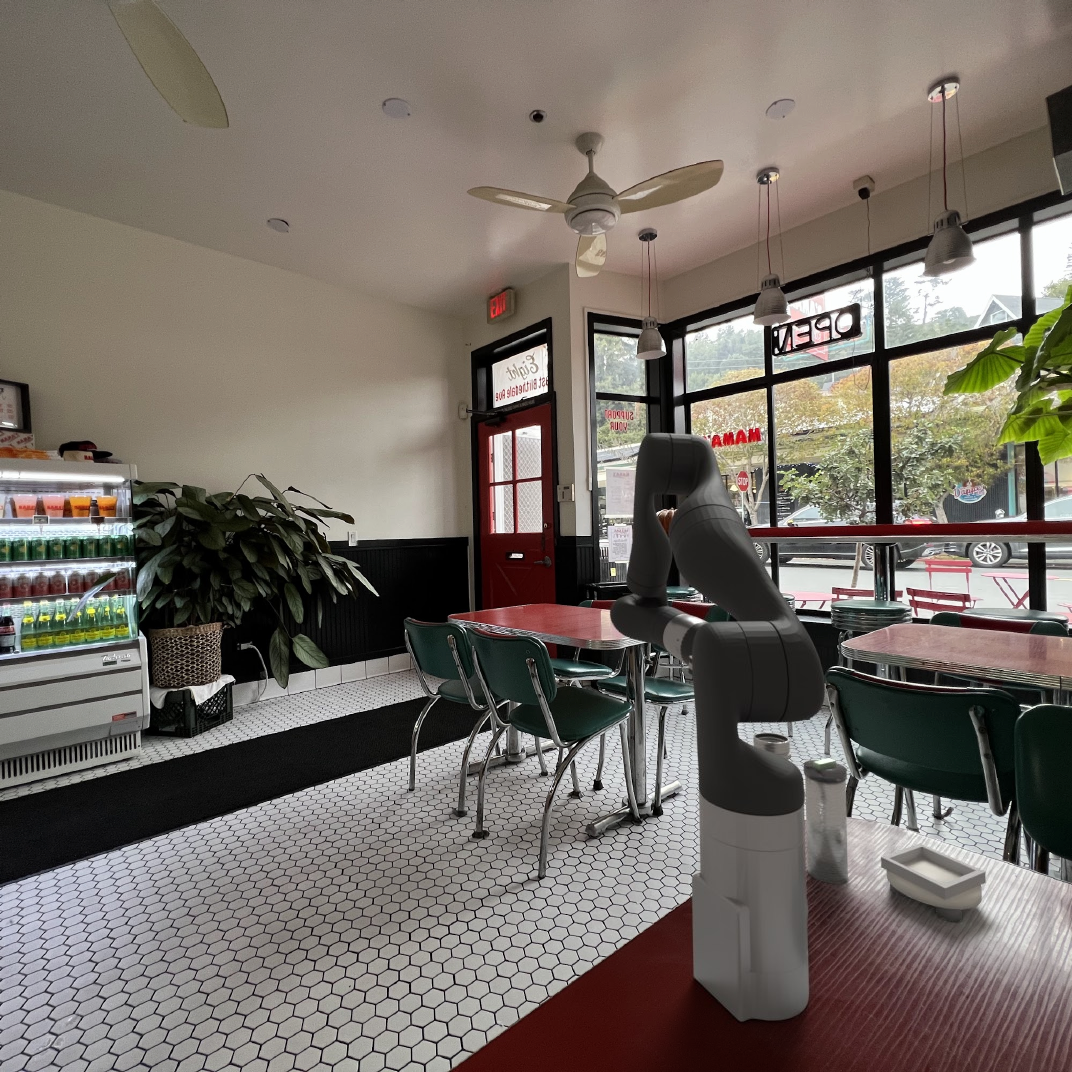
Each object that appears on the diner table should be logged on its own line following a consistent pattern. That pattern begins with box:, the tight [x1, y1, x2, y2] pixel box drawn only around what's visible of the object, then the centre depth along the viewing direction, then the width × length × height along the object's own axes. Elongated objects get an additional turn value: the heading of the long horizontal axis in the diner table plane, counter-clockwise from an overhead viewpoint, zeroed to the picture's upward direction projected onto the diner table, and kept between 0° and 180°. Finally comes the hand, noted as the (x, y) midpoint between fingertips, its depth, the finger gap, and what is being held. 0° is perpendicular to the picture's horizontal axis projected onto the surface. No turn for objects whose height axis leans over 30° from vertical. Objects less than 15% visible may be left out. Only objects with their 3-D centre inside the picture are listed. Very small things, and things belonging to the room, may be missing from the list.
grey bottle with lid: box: [803, 757, 849, 885], centre depth 74 cm, size 5×5×14 cm
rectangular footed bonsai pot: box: [880, 843, 987, 923], centre depth 68 cm, size 9×9×4 cm
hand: (777, 685), depth 81 cm, fingers open, 8 cm apart
